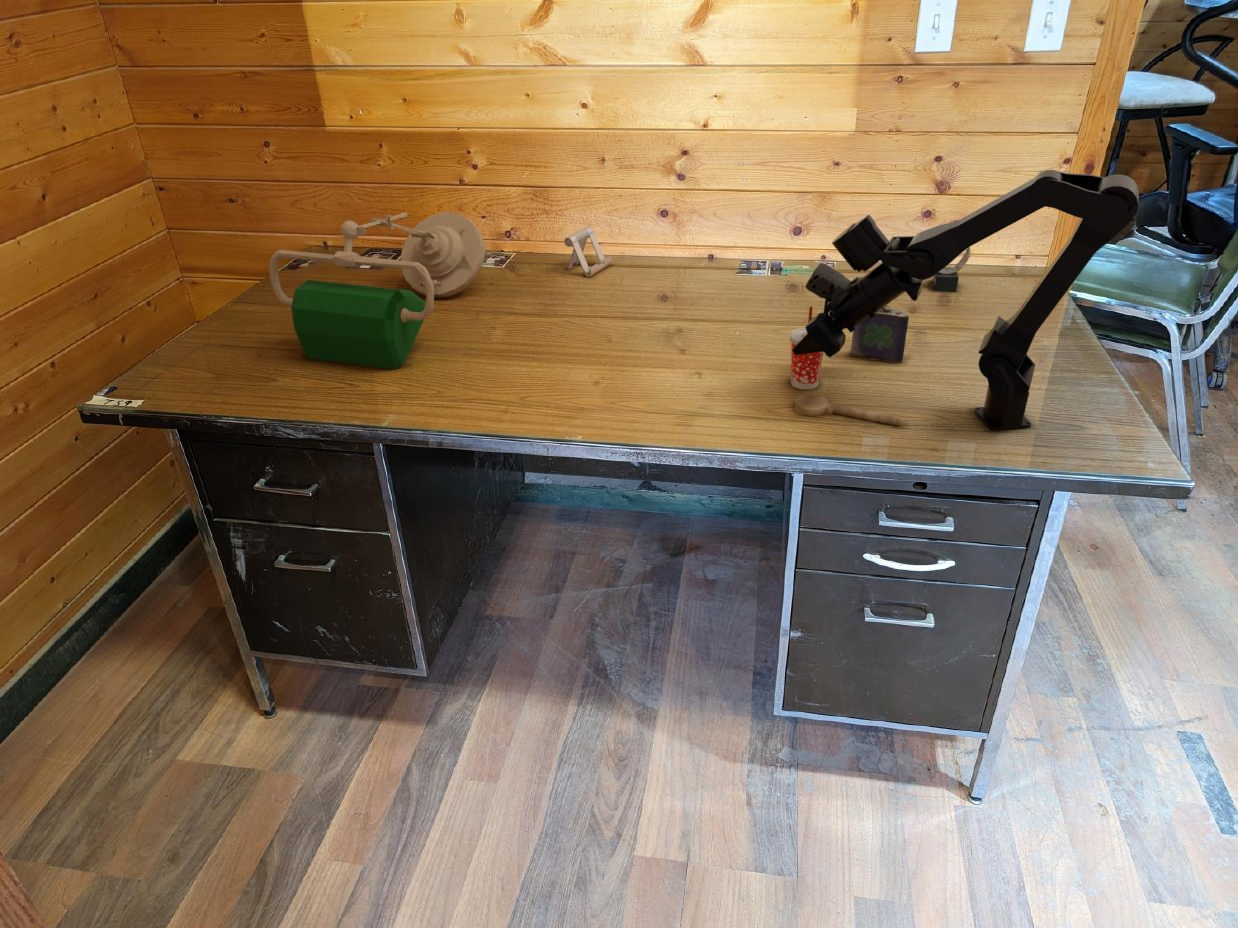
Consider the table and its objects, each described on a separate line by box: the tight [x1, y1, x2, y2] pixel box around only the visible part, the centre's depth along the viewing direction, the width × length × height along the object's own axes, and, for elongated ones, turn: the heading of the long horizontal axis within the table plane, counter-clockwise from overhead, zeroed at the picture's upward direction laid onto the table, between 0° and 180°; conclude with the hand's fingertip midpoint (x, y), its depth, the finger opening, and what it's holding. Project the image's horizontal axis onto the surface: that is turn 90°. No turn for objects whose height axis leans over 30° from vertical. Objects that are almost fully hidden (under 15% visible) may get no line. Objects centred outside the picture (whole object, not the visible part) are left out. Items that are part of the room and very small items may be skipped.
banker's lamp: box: [269, 211, 486, 370], centre depth 178 cm, size 35×42×39 cm
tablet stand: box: [563, 225, 613, 278], centre depth 201 cm, size 9×8×8 cm
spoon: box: [794, 393, 904, 426], centre depth 144 cm, size 17×5×1 cm, turn 64°
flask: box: [850, 304, 910, 364], centre depth 158 cm, size 9×3×11 cm, turn 65°
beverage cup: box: [789, 306, 824, 391], centre depth 150 cm, size 6×6×14 cm
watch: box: [931, 246, 971, 293], centre depth 185 cm, size 6×8×11 cm
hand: (799, 344), depth 151 cm, fingers closed on beverage cup, 6 cm apart
